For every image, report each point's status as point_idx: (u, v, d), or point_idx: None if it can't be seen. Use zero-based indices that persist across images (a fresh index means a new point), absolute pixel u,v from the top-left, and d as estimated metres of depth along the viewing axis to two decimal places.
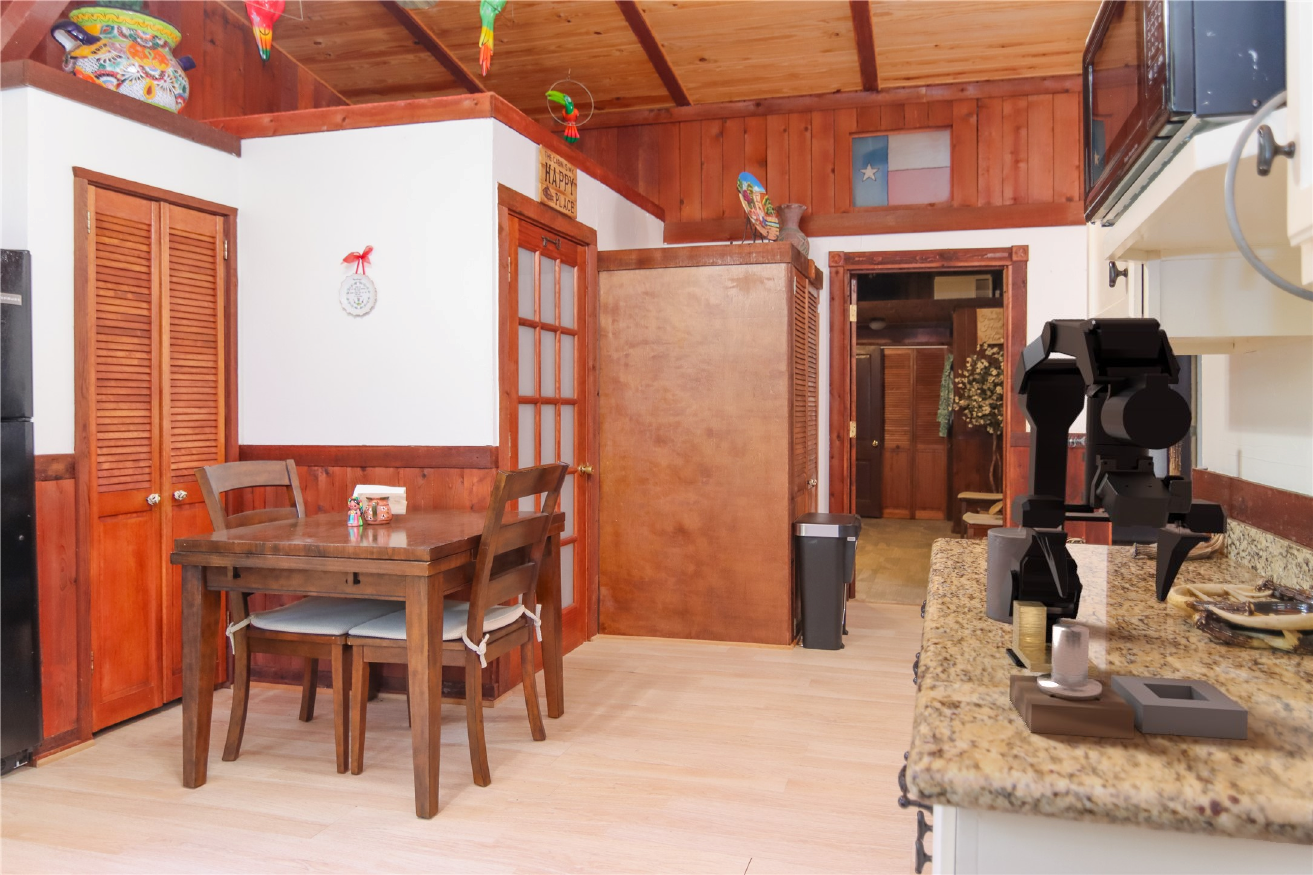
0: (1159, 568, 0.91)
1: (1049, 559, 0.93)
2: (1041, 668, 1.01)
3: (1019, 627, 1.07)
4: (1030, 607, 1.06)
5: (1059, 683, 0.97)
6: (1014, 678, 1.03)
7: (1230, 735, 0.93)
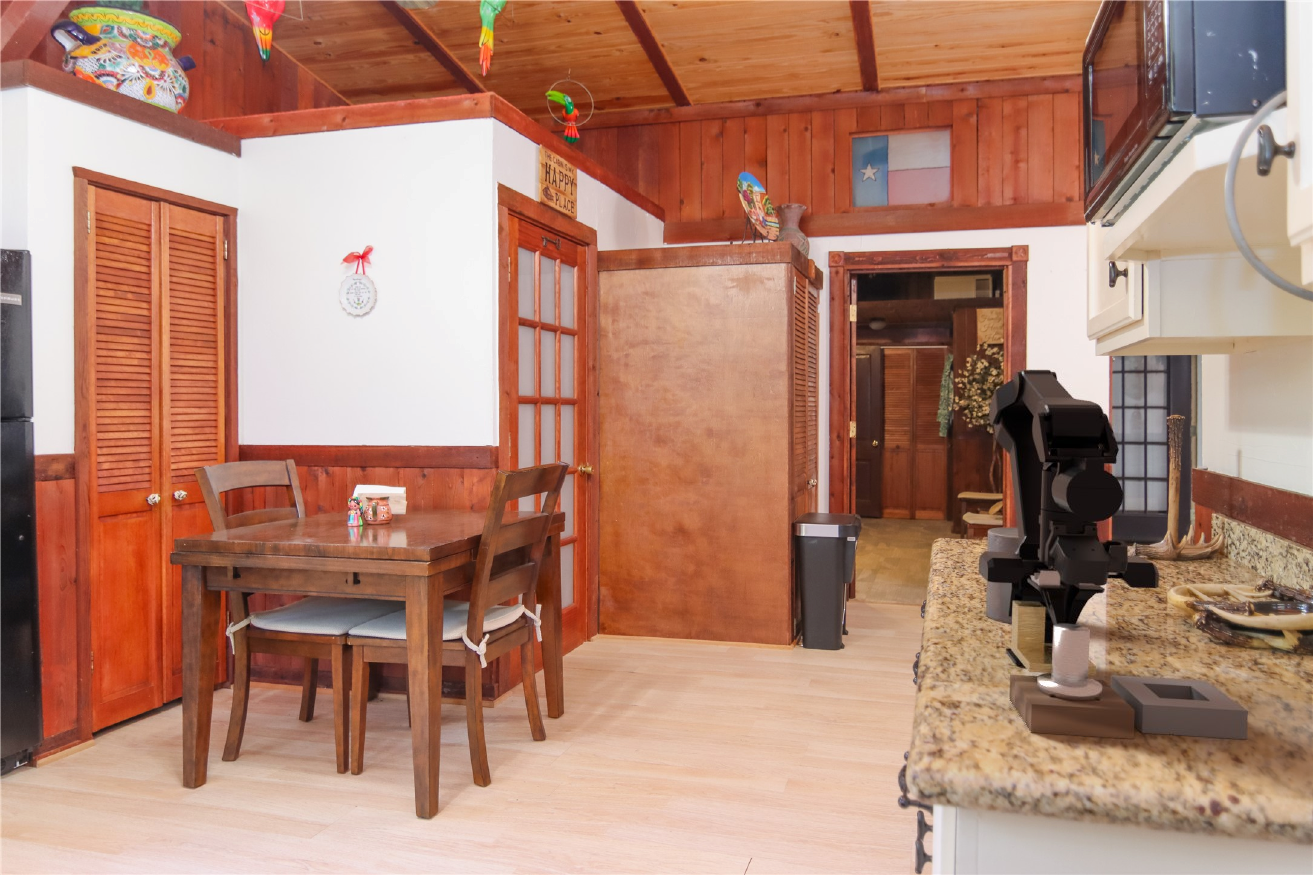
0: None
1: (1049, 609, 1.08)
2: (1040, 668, 1.01)
3: (1018, 627, 1.07)
4: (1029, 607, 1.06)
5: (1060, 683, 0.97)
6: (1014, 678, 1.03)
7: (1230, 735, 0.93)
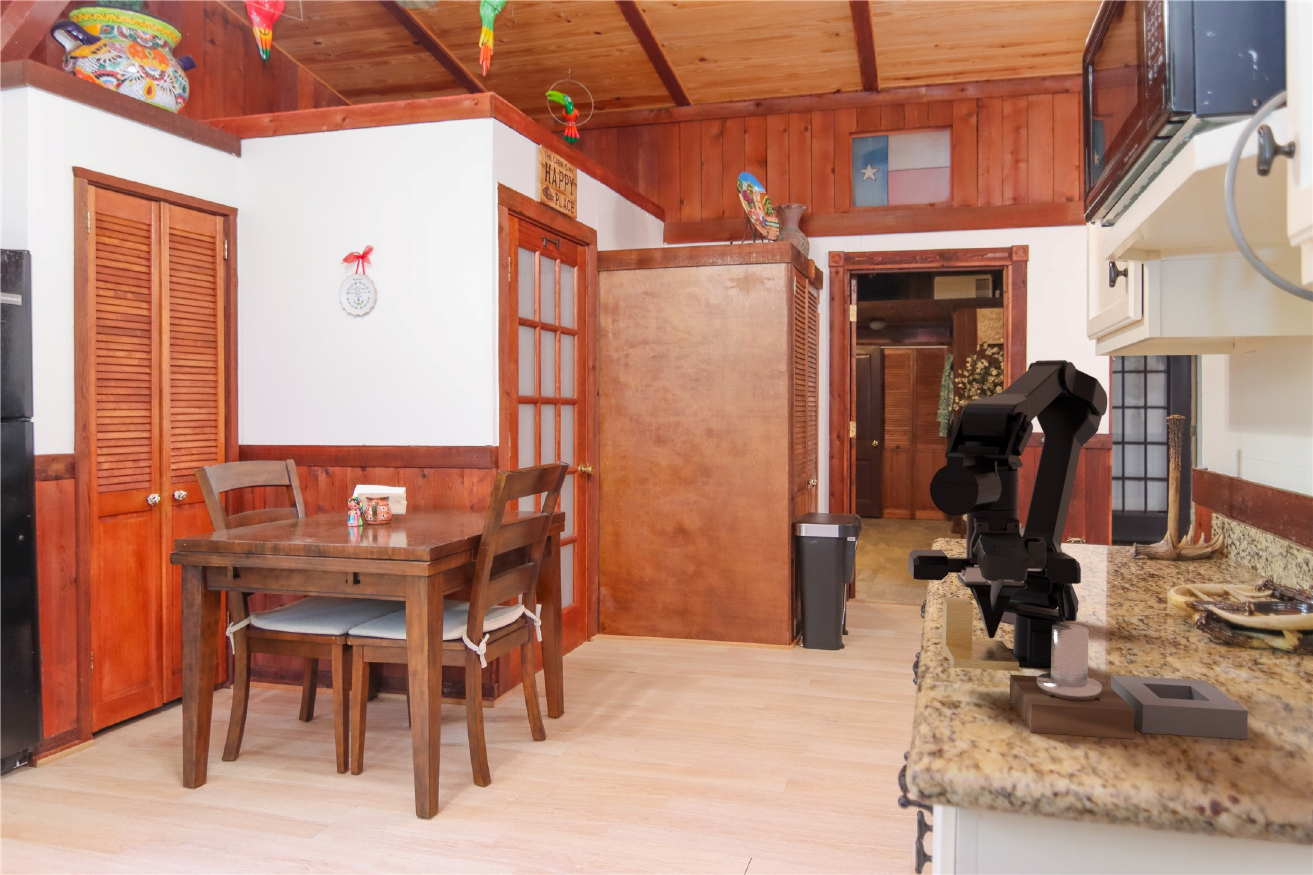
0: None
1: (978, 605, 1.09)
2: (964, 664, 1.02)
3: (946, 624, 1.08)
4: (957, 604, 1.08)
5: (1059, 683, 0.97)
6: (1014, 678, 1.03)
7: (1230, 735, 0.93)
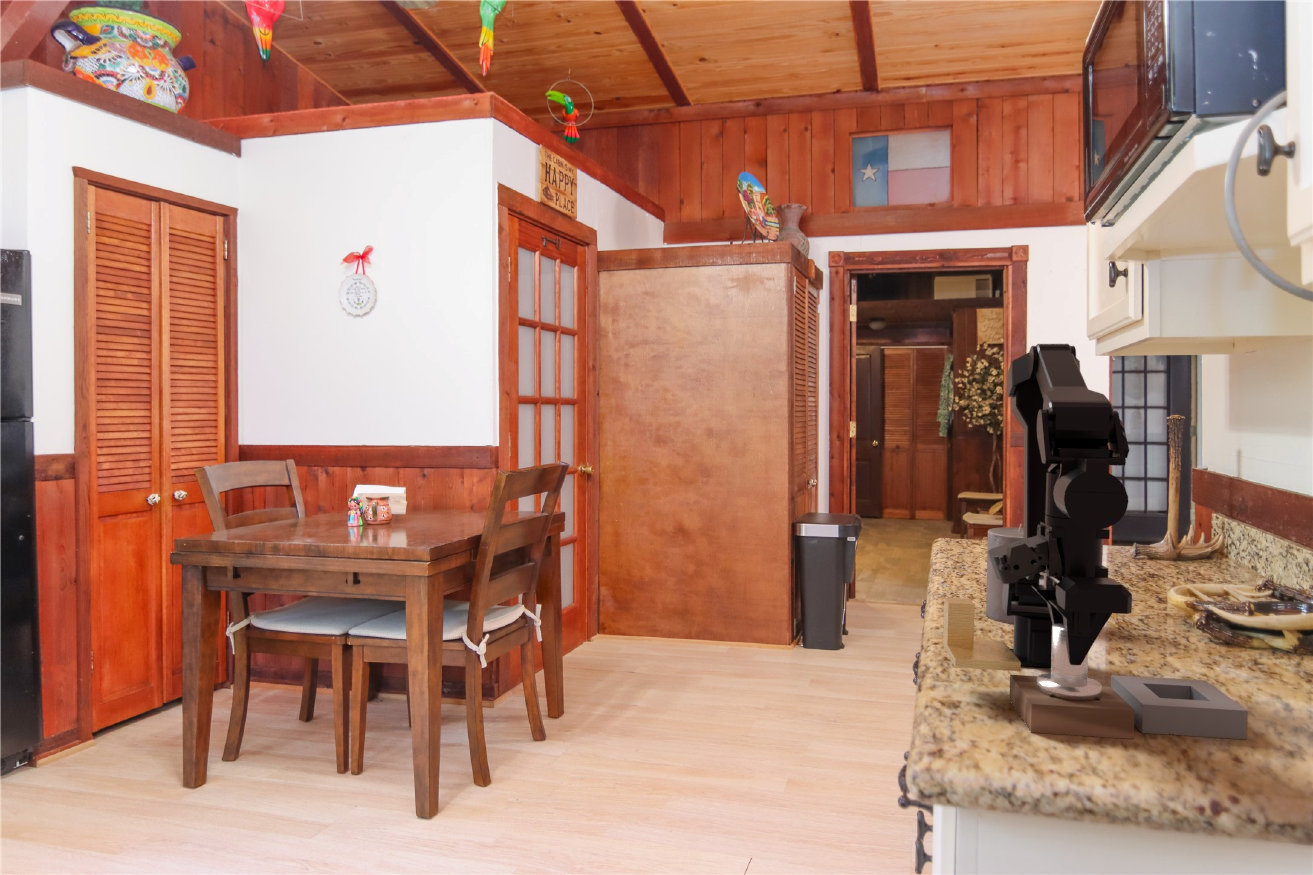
0: None
1: None
2: (966, 664, 1.02)
3: (948, 624, 1.08)
4: (959, 604, 1.08)
5: (1060, 683, 0.97)
6: (1014, 678, 1.03)
7: (1230, 735, 0.93)
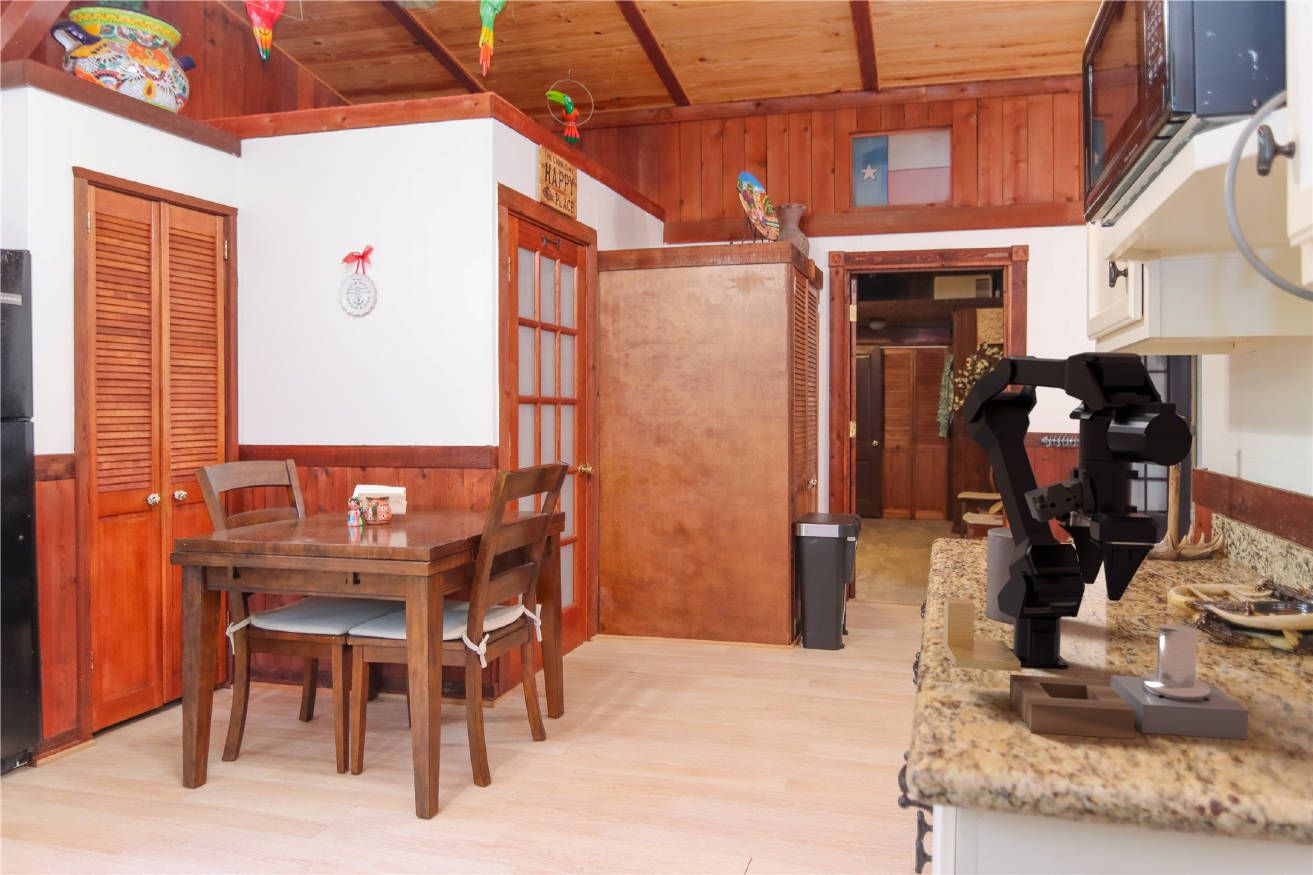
0: None
1: None
2: (966, 664, 1.02)
3: (948, 624, 1.08)
4: (959, 604, 1.08)
5: (1168, 683, 0.97)
6: (1014, 678, 1.03)
7: (1230, 735, 0.93)
